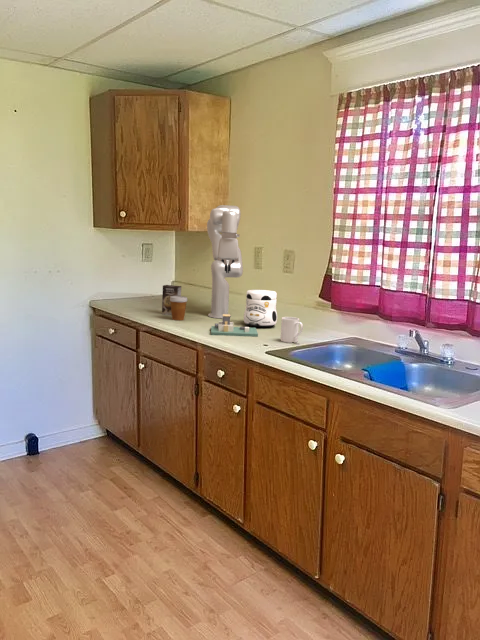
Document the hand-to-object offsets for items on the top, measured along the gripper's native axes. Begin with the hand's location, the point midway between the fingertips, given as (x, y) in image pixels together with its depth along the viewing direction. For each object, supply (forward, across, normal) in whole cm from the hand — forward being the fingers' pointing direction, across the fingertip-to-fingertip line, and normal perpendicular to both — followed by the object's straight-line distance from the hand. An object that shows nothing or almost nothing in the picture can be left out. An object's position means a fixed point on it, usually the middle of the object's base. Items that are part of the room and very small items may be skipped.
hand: (227, 272), depth 285 cm
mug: (+27, -30, +36) cm, 54 cm away
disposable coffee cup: (+27, +25, -11) cm, 39 cm away
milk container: (+27, -18, -1) cm, 33 cm away
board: (+27, -4, +19) cm, 33 cm away
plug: (+26, 0, +19) cm, 32 cm away
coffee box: (+27, +30, -27) cm, 49 cm away
